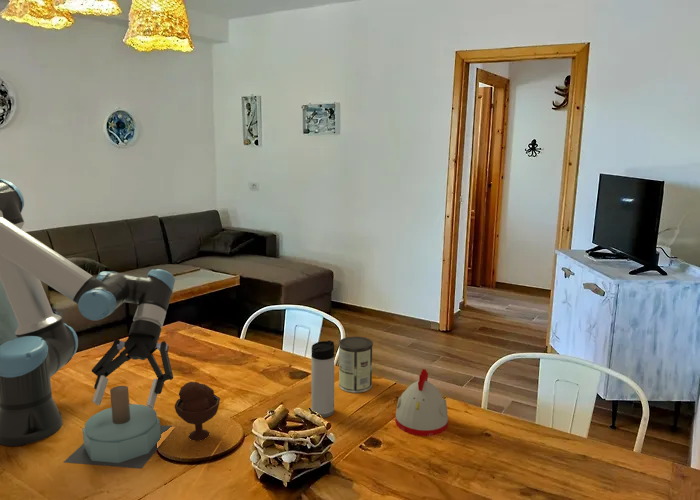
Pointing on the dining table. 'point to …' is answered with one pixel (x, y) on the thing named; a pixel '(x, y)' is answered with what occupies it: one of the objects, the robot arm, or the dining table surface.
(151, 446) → the lid
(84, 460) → the mat
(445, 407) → the kitchen timer
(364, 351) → the coffee can
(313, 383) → the travel mug
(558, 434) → the dining table surface
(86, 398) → the dining table surface
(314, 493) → the dining table surface
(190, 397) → the ice cream bowl
